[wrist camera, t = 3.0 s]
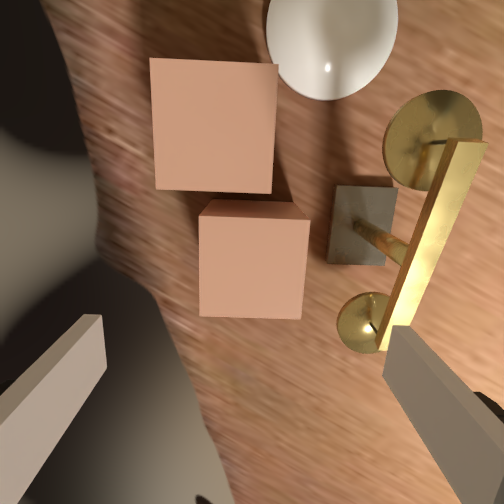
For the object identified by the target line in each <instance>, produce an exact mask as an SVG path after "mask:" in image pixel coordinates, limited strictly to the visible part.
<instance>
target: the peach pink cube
mask: <svg viewBox="0 0 504 504" xmlns="http://www.w3.org/2000/svg"><path fill="white" fill-rule="evenodd" d="M309 230H310V219H309V218H308V217H307V216H306V215H305V214H304V213H303V212H302V211H301V210H300V208H299V207H298V206H297V205H296V204H295V203H294V202H276V201H251V200H225V199H212V200H211V201H210V202H209V204H208V205H207V206H206V207H205V209H204V210H203V211H202V212H201V214H200V215H199V294H200V316H210V317H243V318H275V319H301V312H302V302H303V291H304V281H305V271H306V261H307V251H308V241H309Z"/></svg>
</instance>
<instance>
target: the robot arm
mask: <svg viewBox="0 0 504 504" xmlns="http://www.w3.org/2000/svg"><path fill="white" fill-rule="evenodd" d="M106 368H107V363H106V353H105V344H104V334H103V325H102V315H86V314H84V315H83V316H82V317H81V318H80V319H79V320H78V321H77V322H76V323H75V324H74V325H73V326H72V327H71V328H70V329H69V330H68V331H67V332H66V333H65V334H64V335H62V336H61V337H60V338H59V339H58V340H57V341H56V342H55V343H54V344H53V345H52V346H51V347H50V348H49V349H48V350H47V351H46V352H45V353H44V354H43V355H42V356H41V357H40V358H39V359H38V360H37V361H36V362H35V363H34V364H33V365H31V366H30V367H29V369H28V370H26V371H25V372H24V373H23V374H22V375H21V376H20V377H19V378H18V379H17V380H6V381H5V382H3V383H1V384H0V504H17V503H18V501H19V500H20V498H21V497H22V495H23V494H24V492H25V491H26V489H27V488H28V486H29V485H30V483H31V482H32V480H33V479H34V477H35V476H36V474H37V473H38V471H39V470H40V468H41V467H42V465H43V464H44V462H45V461H46V459H47V457H48V456H49V454H50V453H51V452H52V450H53V449H54V447H55V445H56V444H57V442H58V441H59V439H60V438H61V436H62V435H63V433H64V432H65V430H66V429H67V427H68V426H69V424H70V423H71V421H72V420H73V418H74V417H75V415H76V414H77V412H78V411H79V409H80V407H81V406H82V404H83V403H84V402H85V400H86V399H87V397H88V395H89V394H90V392H91V391H92V389H93V388H94V386H95V385H96V383H97V382H98V380H99V379H100V377H101V376H102V374H103V373H104V371H105V370H106ZM382 376H383V378H384V379H385V381H386V383H387V384H388V386H389V387H390V389H391V391H392V392H393V394H394V395H395V397H396V399H397V400H398V402H399V403H400V405H401V407H402V408H403V410H404V411H405V413H406V415H407V416H408V418H409V420H410V421H411V423H412V424H413V426H414V428H415V429H416V431H417V432H418V434H419V436H420V437H421V439H422V440H423V442H424V444H425V445H426V447H427V449H428V450H429V452H430V453H431V455H432V457H433V458H434V460H435V461H436V463H437V465H438V466H439V468H440V469H441V471H442V473H443V474H444V476H445V477H446V479H447V481H448V482H449V484H450V486H451V487H452V489H453V490H454V492H455V494H456V495H457V497H458V498H459V500H460V502H461V503H462V504H504V410H503V409H502V408H501V407H500V406H499V405H498V404H497V403H496V402H494V401H493V400H491V399H490V398H488V397H487V396H485V395H484V394H482V393H481V392H473V391H472V390H471V389H470V388H469V387H468V386H467V385H466V384H465V383H464V382H463V381H462V380H461V379H460V378H459V377H458V376H457V375H456V374H455V373H454V372H453V371H452V370H451V369H450V368H449V367H448V366H447V365H446V363H445V362H444V361H443V360H442V359H441V358H440V357H439V356H438V355H437V354H436V353H435V352H434V351H433V350H432V349H431V348H430V347H429V346H428V345H427V344H426V343H425V342H424V341H423V340H422V339H421V338H420V337H419V335H418V334H417V333H416V332H415V331H414V330H413V329H412V328H411V327H410V326H406V325H392V330H391V335H390V340H389V345H388V350H387V355H386V360H385V365H384V370H383V375H382Z"/></svg>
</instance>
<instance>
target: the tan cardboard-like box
mask: <svg viewBox="0 0 504 504" xmlns="http://www.w3.org/2000/svg"><path fill="white" fill-rule="evenodd" d="M149 59H150V79H151V99H152V118H153V138H154V158H155V178H156V189H162V190H187V191H212V192H237V193H263V194H271V190H272V173H273V156H274V138H275V121H276V104H277V87H278V70H279V64H266V63H246V62H226V61H206V60H186V59H165V58H149Z"/></svg>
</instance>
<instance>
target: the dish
mask: <svg viewBox="0 0 504 504" xmlns="http://www.w3.org/2000/svg"><path fill="white" fill-rule="evenodd" d="M397 24H398V8H397V1H396V0H271V2H270V5H269V10H268V15H267V24H266V41H267V48H268V52H269V56H270V59H271V62H272V64H279V70H278V75H279V77H280V78H281V79H282V80H283V82H284V83H285V84H286V85H287V86H288V87H289V88H291V89H292V90H293V91H295V92H296V93H298V94H299V95H301V96H304V97H306V98H309V99H313V100H319V101H332V100H337V99H341V98H344V97H347V96H349V95H351V94H353V93H355V92H356V91H358V90H360V89H361V88H363V87H364V86H365V85H367V84H368V83H369V82H370V81H371V80H372V79H373V78H374V77H375V76H376V75H377V74H378V73H379V71H380V70H381V69H382V67H383V66H384V64H385V62H386V61H387V59H388V57H389V55H390V52H391V50H392V47H393V44H394V41H395V37H396V32H397Z"/></svg>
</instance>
